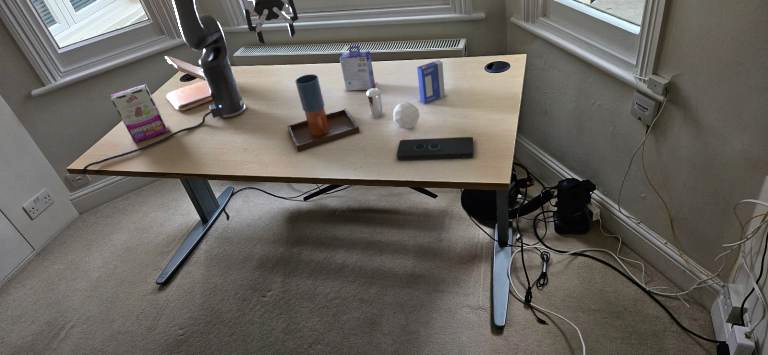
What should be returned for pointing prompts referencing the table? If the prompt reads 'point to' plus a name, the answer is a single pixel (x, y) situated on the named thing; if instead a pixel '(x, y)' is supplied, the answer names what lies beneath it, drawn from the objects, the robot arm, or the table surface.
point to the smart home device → (435, 148)
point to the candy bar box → (139, 113)
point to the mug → (317, 122)
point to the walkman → (431, 81)
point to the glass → (310, 93)
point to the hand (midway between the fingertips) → (277, 40)
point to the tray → (338, 129)
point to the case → (189, 87)
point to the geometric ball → (406, 115)
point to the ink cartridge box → (357, 70)
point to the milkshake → (375, 101)
